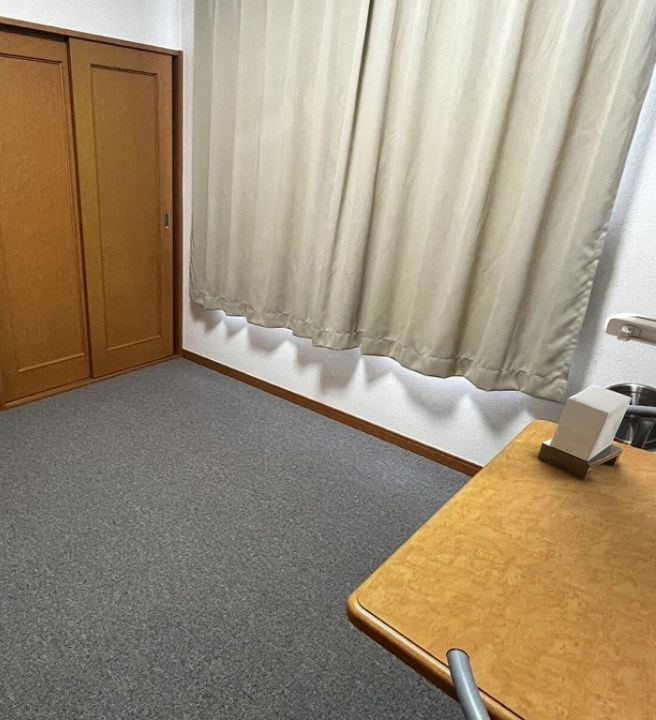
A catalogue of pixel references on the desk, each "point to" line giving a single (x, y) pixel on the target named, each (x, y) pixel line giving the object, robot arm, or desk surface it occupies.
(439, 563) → the desk surface
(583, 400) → the cosmetics box
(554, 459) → the dark bridge stand
